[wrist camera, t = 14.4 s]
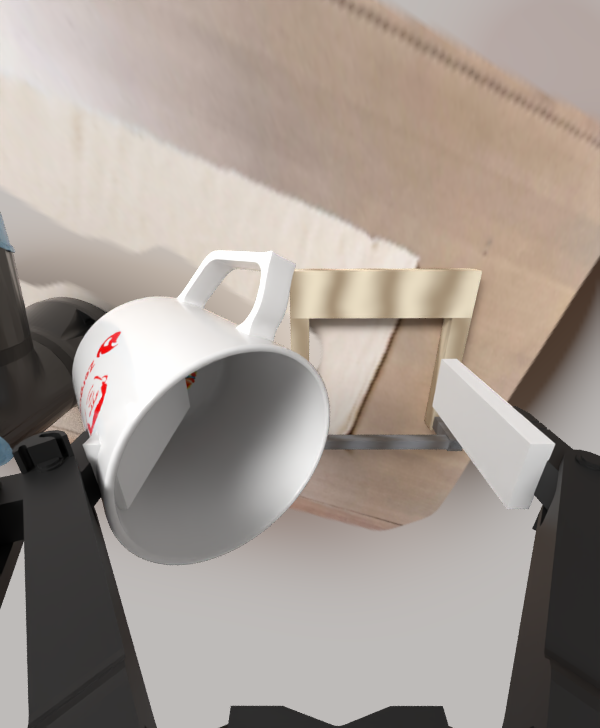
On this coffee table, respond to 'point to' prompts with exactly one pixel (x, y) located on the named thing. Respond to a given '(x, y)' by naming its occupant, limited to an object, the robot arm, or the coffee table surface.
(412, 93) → the coffee table surface
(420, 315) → the beige and grey frame
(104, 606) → the robot arm
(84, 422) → the mug
